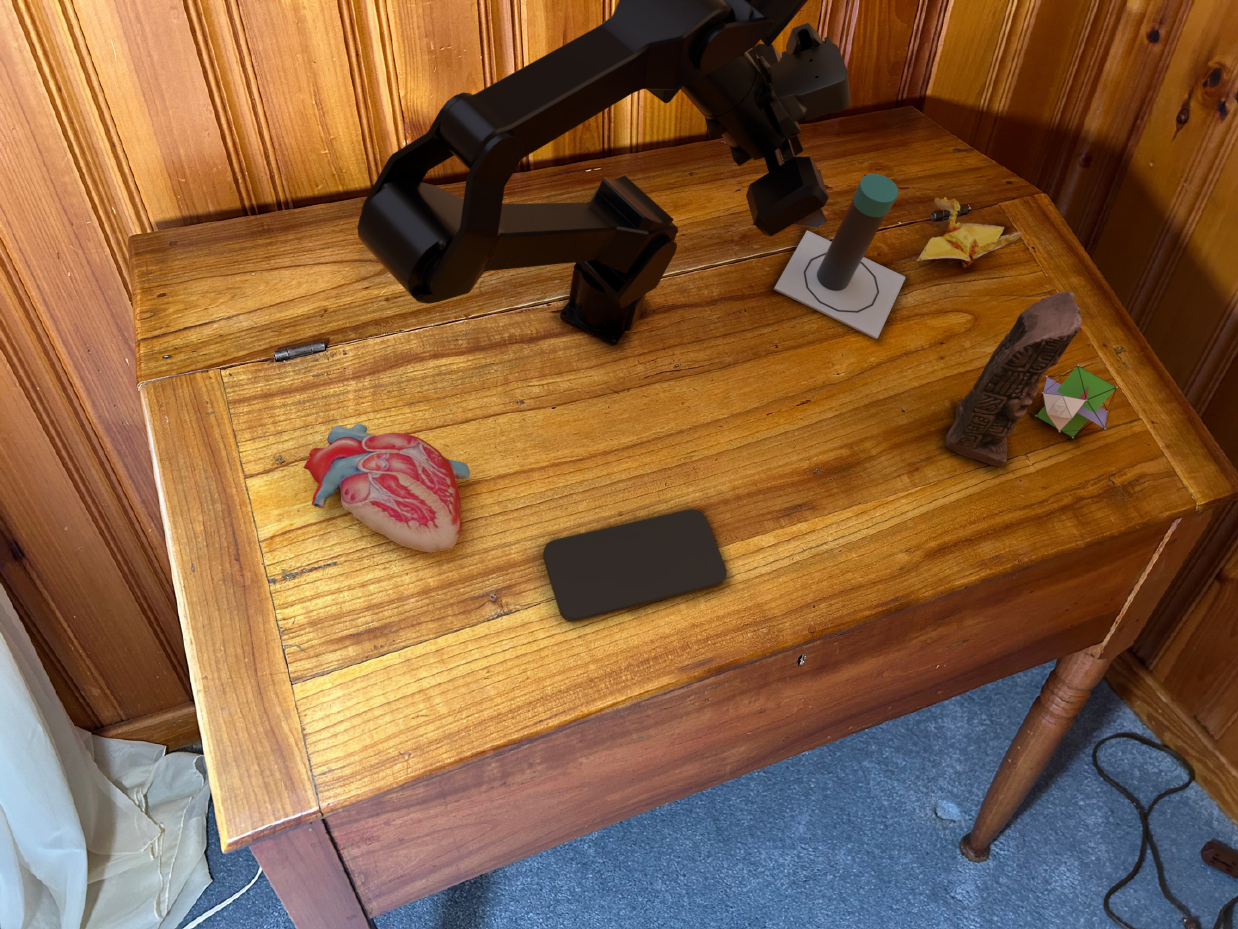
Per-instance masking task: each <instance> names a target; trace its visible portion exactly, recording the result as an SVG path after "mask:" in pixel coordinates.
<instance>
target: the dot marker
mask: <svg viewBox="0 0 1238 929" xmlns="http://www.w3.org/2000/svg"><path fill="white" fill-rule="evenodd" d="M898 195H899V189H898V187H897V184H896V183H895V182H894V181H893V180H892V179H891V178H889V177H888V176H885V175H883V174H879V173H868V174H866V175H864V176H862V178H861V179H860V180H859V183H858V185H857V187H856V189H855V192H854V193H853V196H852V200H851V202H850V204H849V206H848V208H847V210H846V212H845V214H844V216H843V218H842V220H841V222H840V224H839V226H838V228H837V230H836V232H835V235H834V237H833V239H832V241H831V242H832V243H831V245H830V247H829V249H828V251H827V253H826V255H825V257H824V259H823V261H822V263H821V265H820V267H819V269H818V271H817V279H818V281H819V282H820V284H821V285H822V286H824V287H825V288H827V289H829V290H833V291H840V290H843V289H845V288H846V287H847V286H848V284H849V282H850V280H851V279H852V277H853V275H854V273H855V271H856V269H857V268H858V266H859V264H860V262H861V260H862V258H863V257H864V258H865V255H866V253H867V251H868V249H869V247H870V245H871V244H872V242H873V240H874V238H875V236H876V234H877V233H878V231H879V229H880V227H881V225H882V223H883V222H884V220H885V218H886V216H887V215H888V214H889V212H890V211H891V209H892V207H893V205H894V203H895V201H896V200H897V198H898Z"/></svg>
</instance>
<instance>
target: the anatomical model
mask: <svg viewBox="0 0 1238 929" xmlns="http://www.w3.org/2000/svg"><path fill="white" fill-rule="evenodd" d="M326 441H327V443H328V446H326V447H315V448H311V450H310V451H309V453H308V455H309V458H308V459H307V460H306V462H305V463H304V466H303V469H304V470H307V471H309V473H310V475H311V477H312V478H313V480H314V481H315V482H316V484H318V486H317V487H316V489H315V491H314V493H313V495H312V499H311V500H312V501H311V506H313V507H315V508H319V509H324V508H325V505H326V503H327V500H328V499H329V498H331V497H332V496H334V495H335V494H336V493H338V492H340V502H341V505H342V507H343V509H344V510H346V511H347V512H350V513H351V514H352V516H353V517H354V518H355V519H357V520H358V521H359V522H360V523H362V524H364V525H365V526H367V527H368V528H369V529H370V530H371V531H374V532H375V533H378V534H381V535H383V536H385V537H386V538H388V539H389V541H391V542H393V543H395V544H397V545H399V546H402V547H404V548H408V549H412V550H414V551H421V552H424V553H431V554H433V553H435V552H438V551H441V552H444V551H449V550H451V549H452V548H454V547H455V546H456V544H457V541H458V540H459V537H460V534H461V531H462V526H463V523H462V517H461V506H462V501H461V493H460V491H459V486H458V482H457V480H469V479H470V473H471V471H470V468H469V466H468V464H467V463H465V462H463V461H460V460H459V461H458V460H453V459H449V458H446V457H445V456H444V455H443V454H442V453H441V452H440V451H439V450H438V449H437V448H436V447H435V446H434V445H432V444H431V443H429V442H427V441H425V440H424V439H422V438H420V437H419V436H415V435H413V434H409V433H403V432H388V433H382V434H379V435H375V434H372V433H369V432H368V426H366V425H365V424H363V423H361V422H360V423H359V422H358V423H355V424H354V425H352V427H344V426H341V425H336V426H333V428H331V430H330V432H329V433H328V435H327V439H326Z"/></svg>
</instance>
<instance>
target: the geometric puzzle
mask: <svg viewBox="0 0 1238 929" xmlns="http://www.w3.org/2000/svg"><path fill="white" fill-rule="evenodd" d="M1068 369H1071V370H1070V371H1069V372H1067V373H1065V374H1061V375H1059V377H1060V379H1058V380H1057V381H1055V380H1054V379H1052V378H1054V377H1056V374H1058V373H1060V371H1058V372H1056V373H1054V375H1052V374H1050V375H1046V376H1045V382H1044V385H1043V389H1042V392H1041V396H1040V400H1039V404H1038V408H1037V411H1036V414H1035V417H1036V418H1038V419H1040V420H1041V421H1042V422H1044V423H1046V425H1048V426H1050V427H1051V428H1053V429H1054V430H1056V431H1057V432H1058V433H1061V434H1064V435H1065V436H1067V437H1070V438H1072V439H1074V438H1075V437H1080V436H1081V434H1080V433H1081V432H1083V431H1085V430H1086V428H1088V427H1089V426H1090V425H1092V424H1093V423H1094V424H1096V425H1098V426H1100V427H1101V428H1100V429H1097V432H1098V431H1102V430H1107V424H1108V420H1109V416H1110V413H1111V409H1112V406H1113V401H1114V399H1115V395H1116V392H1117V389H1118V388H1119V387H1118V386H1115V385H1113V384H1112V383H1110V382H1109V381H1107V380H1105V379H1103V378H1102V377H1099V376H1098V375H1096V374H1094V373H1093V372H1091V371H1089V370H1087V369H1085V368H1083V367H1082V366H1080V364H1077V365H1075V366H1073V368H1071V367H1070V368H1069V367H1068V368H1066V369H1065V371H1067V370H1068ZM1071 371H1072V372H1071ZM1069 373H1070V374H1069ZM1067 376H1068V377H1067ZM1064 377H1066V379H1065V380H1064V381H1063V382H1062V384H1060V383H1059V381H1060V380H1062V379H1063V378H1064ZM1111 395H1112V398H1111V400H1110V402H1109V404H1108V407H1107V406H1106V404H1105V402H1106V401H1107V399H1108V398H1109V397H1110V396H1111ZM1042 399H1043V402H1044V406H1043V407H1042V408H1041V409H1040V411H1039V408H1040V405H1041V402H1042ZM1102 405H1104V408H1105V409H1104V408H1103V407H1101V406H1102ZM1109 407H1110V408H1109ZM1088 421H1091V422H1090V423H1089V424H1088V425H1086V423H1087V422H1088ZM1084 425H1086V426H1085V427H1084ZM1092 430H1095V431H1093V433H1095V432H1096V428H1091V429H1090V428H1089V429H1088V431H1091V432H1086V435H1088V434H1090V433H1092ZM1078 434H1079V435H1078ZM1083 435H1085V433H1083V434H1082V436H1083Z"/></svg>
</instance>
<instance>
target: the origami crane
mask: <svg viewBox="0 0 1238 929" xmlns="http://www.w3.org/2000/svg"><path fill="white" fill-rule="evenodd" d="M933 202H934V205H935V207H936V208H937V209H939V210H941V211H945V210H946V211H947V212H948V211H949V214H950V215H949V217H948V219H947V223H946V231H945V233H944V234H943V235H941V236H935V237H934V236H933V237H931V238H929V240H928V242H927V244H926V245H925V247H924V249H923V250H922V252H921V253H920V255H919V257H918V258H917V260H916V261H917V262H918V261H919V262H923V261H924V260H927V261H928V260H938V259H958V260H959V259H960V260H961V267H962V268H967V267H970V266H971V264H972V263H974V262H975V261H976V260H977V259H978V258H980V257H982V256H984V255H985V254H988V253H990V252H992V251H995V250H998V249H1000V248H1002V247H1004V246H1006V245H1008V244H1010V243H1015V242H1016V241H1017V240H1018V239H1019V238H1021V237H1022V232H1013V234H1011V235H1010V234H1006V235H1002V234H1003V232H1004V230H1005V227H1004V226H999V225H993V224H992V225H991V224H990V225H989V224H981V223H970V222H967V223H963V222H962V223H961V222H960V221H958V222H956V220H957V218H958V217H957V215H958V214H959V213H958V211H960V210H961V205H960V203H959V201H957V199H956V198H952V199H951V200H949V199H947V197H946V196H944V197H943V198H940V197H937V196H936V197H935V198H934V200H933ZM963 260H964V262H963Z"/></svg>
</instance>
